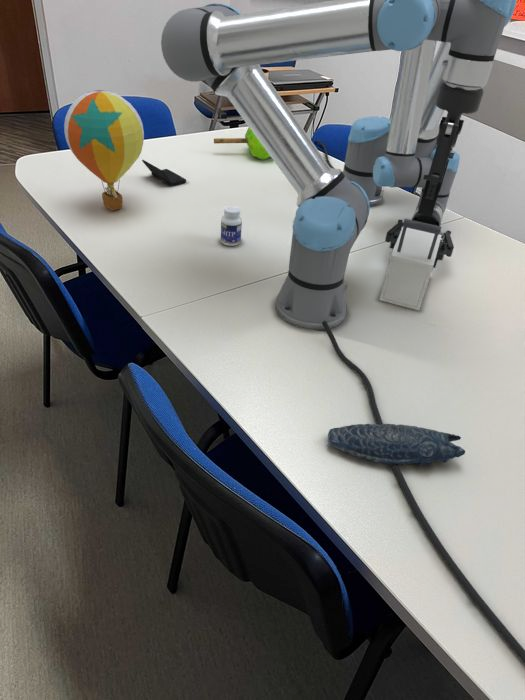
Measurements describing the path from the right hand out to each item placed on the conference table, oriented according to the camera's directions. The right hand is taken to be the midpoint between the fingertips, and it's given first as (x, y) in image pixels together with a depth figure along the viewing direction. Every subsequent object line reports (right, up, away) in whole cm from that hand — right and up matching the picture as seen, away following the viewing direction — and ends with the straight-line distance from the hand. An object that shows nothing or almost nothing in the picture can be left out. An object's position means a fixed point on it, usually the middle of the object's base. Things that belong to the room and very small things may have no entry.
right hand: (414, 257), depth 122 cm
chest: (-2, -7, +1) cm, 8 cm away
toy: (-77, +18, +23) cm, 83 cm away
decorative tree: (-38, +49, +67) cm, 92 cm away
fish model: (-15, -38, -39) cm, 56 cm away
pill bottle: (-44, +6, +13) cm, 46 cm away
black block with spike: (-67, +32, +42) cm, 85 cm away
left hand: (-2, +8, -18) cm, 20 cm away
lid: (-1, +1, -6) cm, 6 cm away
